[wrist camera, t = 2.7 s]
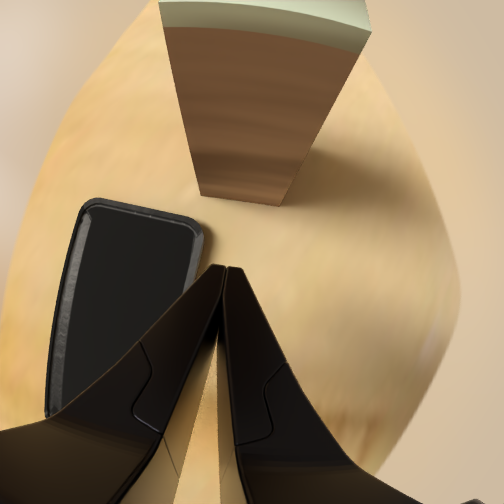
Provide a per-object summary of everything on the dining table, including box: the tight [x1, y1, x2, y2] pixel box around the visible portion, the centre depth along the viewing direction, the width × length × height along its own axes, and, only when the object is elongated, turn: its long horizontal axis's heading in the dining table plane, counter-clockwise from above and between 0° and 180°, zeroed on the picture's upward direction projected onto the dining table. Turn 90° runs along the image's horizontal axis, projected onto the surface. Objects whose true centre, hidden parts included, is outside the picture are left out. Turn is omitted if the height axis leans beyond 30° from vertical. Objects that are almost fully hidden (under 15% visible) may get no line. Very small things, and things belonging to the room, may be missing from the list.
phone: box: [44, 198, 204, 419], centre depth 16 cm, size 8×1×15 cm
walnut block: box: [158, 0, 372, 207], centre depth 11 cm, size 4×4×13 cm
